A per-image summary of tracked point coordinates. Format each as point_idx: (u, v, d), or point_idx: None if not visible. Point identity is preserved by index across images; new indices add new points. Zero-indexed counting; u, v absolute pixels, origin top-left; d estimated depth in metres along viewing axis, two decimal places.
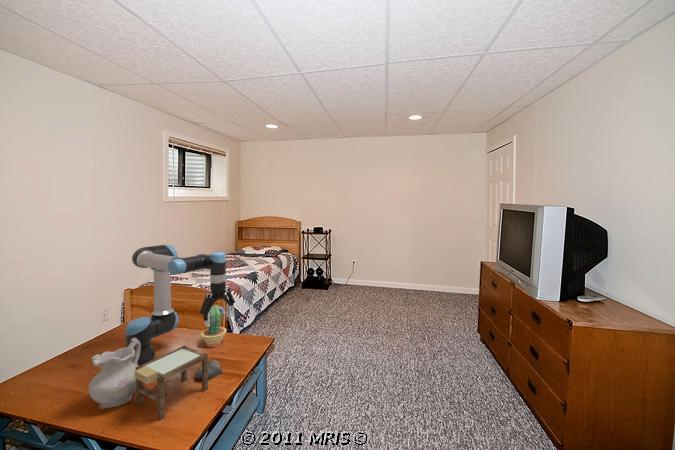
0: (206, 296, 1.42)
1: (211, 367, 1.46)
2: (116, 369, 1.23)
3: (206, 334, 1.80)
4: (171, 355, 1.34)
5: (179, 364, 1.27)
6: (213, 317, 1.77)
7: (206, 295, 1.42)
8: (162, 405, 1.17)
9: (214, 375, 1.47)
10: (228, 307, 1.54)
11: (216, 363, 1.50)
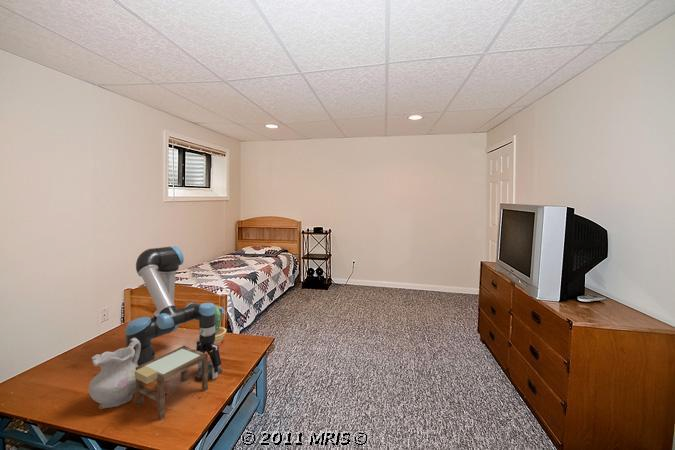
0: None
1: (212, 366, 1.47)
2: (116, 369, 1.23)
3: None
4: (171, 355, 1.34)
5: (179, 364, 1.27)
6: None
7: None
8: (162, 405, 1.17)
9: None
10: None
11: None
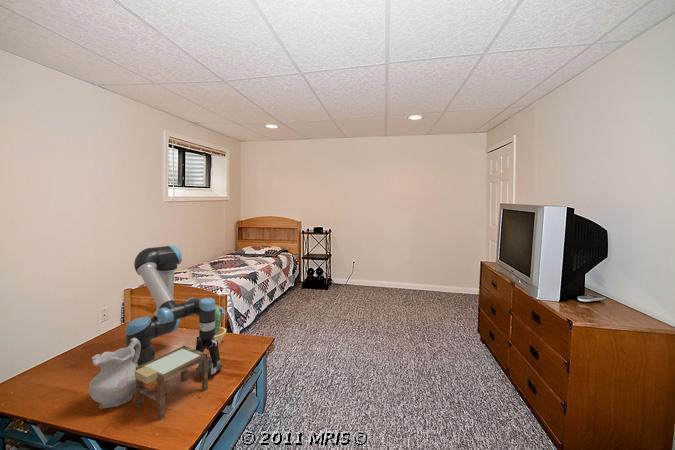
0: None
1: None
2: (116, 369, 1.23)
3: None
4: (171, 355, 1.34)
5: (179, 364, 1.27)
6: None
7: None
8: (162, 405, 1.17)
9: None
10: None
11: None
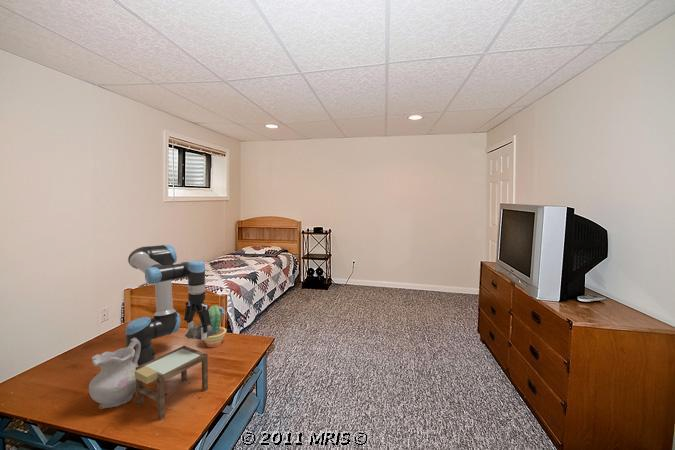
0: None
1: None
2: (116, 369, 1.23)
3: None
4: (171, 355, 1.34)
5: (179, 364, 1.27)
6: (213, 317, 1.77)
7: None
8: (162, 405, 1.17)
9: None
10: None
11: None
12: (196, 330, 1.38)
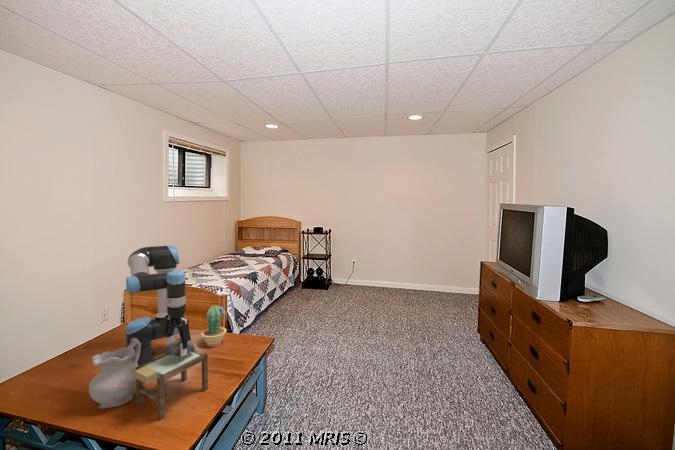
0: None
1: None
2: (116, 369, 1.23)
3: (206, 334, 1.80)
4: (171, 355, 1.34)
5: (179, 364, 1.27)
6: (213, 317, 1.77)
7: None
8: (162, 405, 1.17)
9: None
10: None
11: None
12: (175, 346, 1.28)
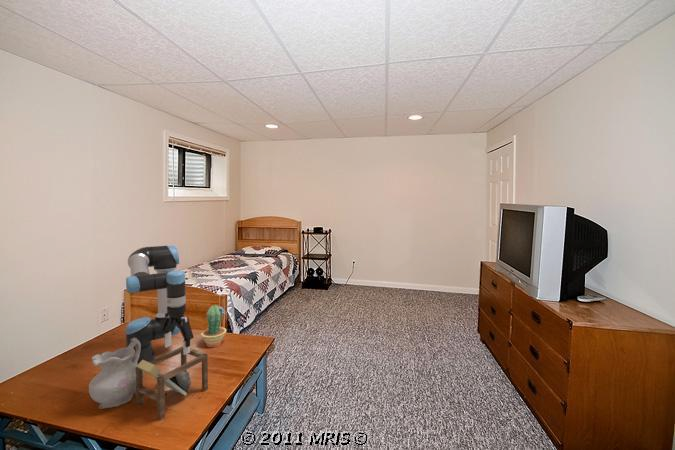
0: None
1: (187, 374, 1.34)
2: (116, 369, 1.23)
3: (206, 334, 1.80)
4: None
5: None
6: (213, 317, 1.77)
7: None
8: (162, 405, 1.17)
9: (183, 385, 1.31)
10: None
11: None
12: (181, 372, 1.32)
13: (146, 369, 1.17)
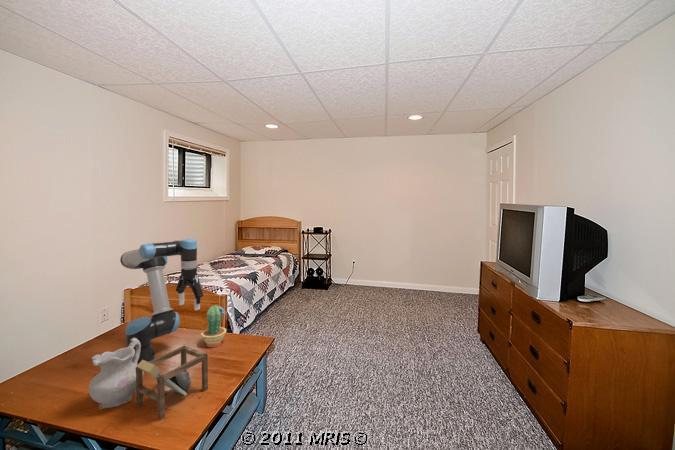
0: None
1: (187, 374, 1.34)
2: (116, 369, 1.23)
3: (206, 334, 1.80)
4: None
5: None
6: (213, 317, 1.77)
7: None
8: (162, 405, 1.17)
9: (183, 385, 1.31)
10: None
11: None
12: (181, 372, 1.32)
13: (146, 369, 1.17)
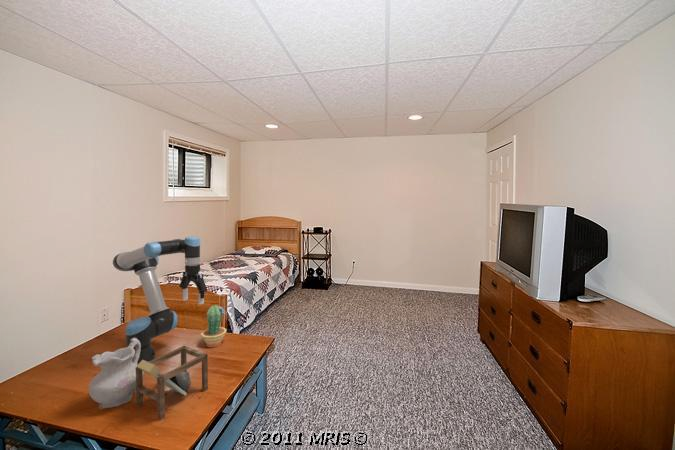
0: None
1: (187, 374, 1.34)
2: (116, 369, 1.23)
3: (206, 334, 1.80)
4: None
5: None
6: (213, 317, 1.77)
7: None
8: (162, 405, 1.17)
9: (183, 385, 1.31)
10: None
11: None
12: (181, 372, 1.32)
13: (146, 369, 1.17)
